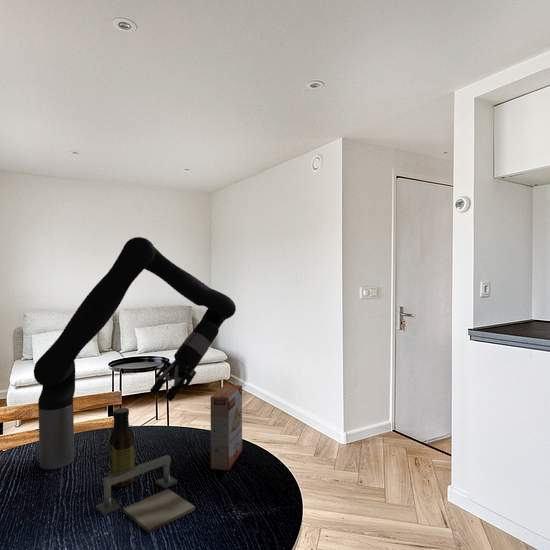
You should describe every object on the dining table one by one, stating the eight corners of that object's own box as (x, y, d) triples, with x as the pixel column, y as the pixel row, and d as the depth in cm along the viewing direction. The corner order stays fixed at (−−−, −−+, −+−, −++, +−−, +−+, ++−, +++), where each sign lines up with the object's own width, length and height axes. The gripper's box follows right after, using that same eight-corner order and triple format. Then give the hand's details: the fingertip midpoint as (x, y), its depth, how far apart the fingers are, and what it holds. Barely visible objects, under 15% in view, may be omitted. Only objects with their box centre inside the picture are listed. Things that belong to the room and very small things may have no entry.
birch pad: (123, 511, 98) (123, 508, 98) (168, 491, 107) (168, 488, 107) (148, 533, 90) (148, 529, 90) (195, 510, 99) (195, 506, 99)
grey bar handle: (95, 508, 100) (95, 478, 100) (169, 478, 114) (169, 451, 114) (102, 515, 97) (102, 484, 97) (177, 483, 111) (177, 456, 111)
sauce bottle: (115, 477, 115) (114, 405, 115) (138, 476, 115) (136, 405, 115) (106, 489, 109) (104, 413, 108) (130, 489, 109) (128, 413, 108)
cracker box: (230, 471, 117) (229, 397, 117) (209, 470, 119) (208, 396, 118) (243, 450, 131) (242, 384, 131) (225, 449, 132) (224, 383, 132)
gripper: (172, 340, 131) (139, 384, 123) (198, 345, 121) (164, 393, 113) (187, 354, 135) (156, 398, 127) (213, 360, 125) (181, 408, 117)
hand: (160, 396), depth 120 cm, fingers open, 8 cm apart
